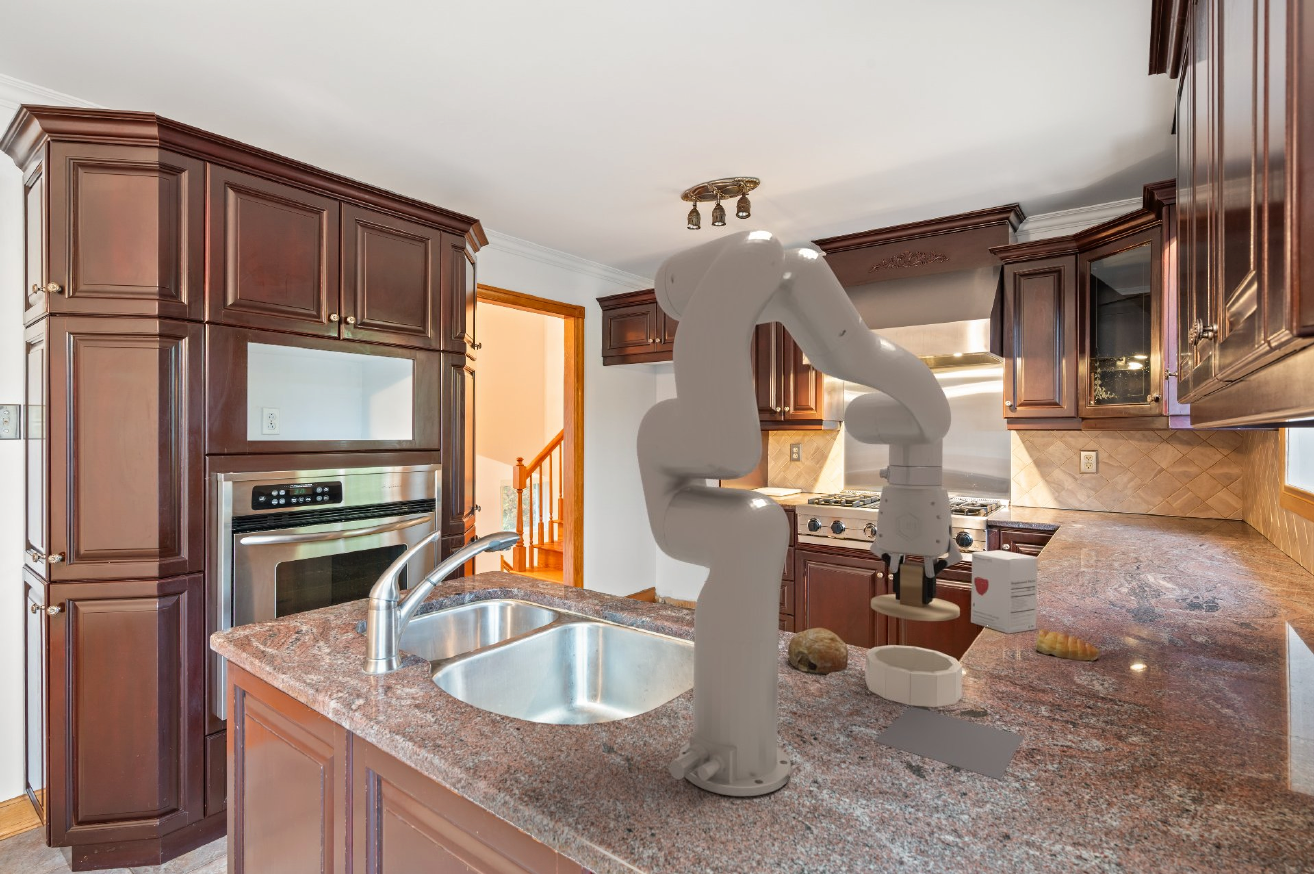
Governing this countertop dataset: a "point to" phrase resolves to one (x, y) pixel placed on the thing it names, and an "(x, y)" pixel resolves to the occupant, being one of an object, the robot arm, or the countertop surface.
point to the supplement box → (1004, 591)
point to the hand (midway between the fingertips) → (914, 599)
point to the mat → (952, 741)
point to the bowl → (914, 675)
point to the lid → (914, 599)
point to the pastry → (1065, 646)
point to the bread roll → (818, 651)
